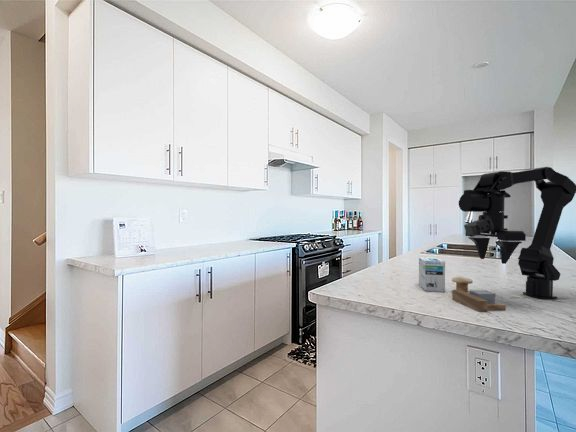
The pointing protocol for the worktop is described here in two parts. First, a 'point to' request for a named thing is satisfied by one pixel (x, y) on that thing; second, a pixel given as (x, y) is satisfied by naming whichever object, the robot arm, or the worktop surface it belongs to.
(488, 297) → the blue-grey block
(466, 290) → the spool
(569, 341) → the worktop surface
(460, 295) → the notched board
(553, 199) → the robot arm
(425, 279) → the light bulb box
